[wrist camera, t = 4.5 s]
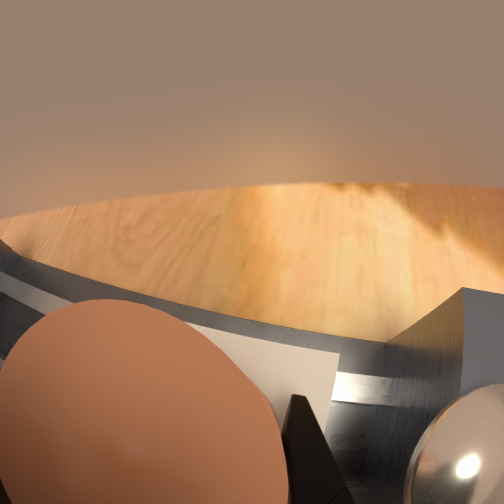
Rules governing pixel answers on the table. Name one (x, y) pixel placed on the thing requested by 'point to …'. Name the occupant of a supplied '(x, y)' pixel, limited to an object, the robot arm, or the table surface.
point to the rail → (354, 385)
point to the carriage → (150, 409)
